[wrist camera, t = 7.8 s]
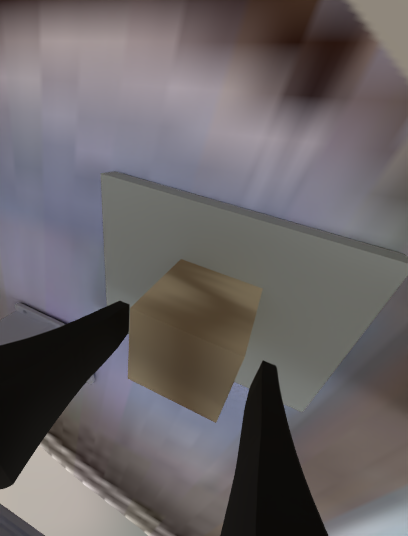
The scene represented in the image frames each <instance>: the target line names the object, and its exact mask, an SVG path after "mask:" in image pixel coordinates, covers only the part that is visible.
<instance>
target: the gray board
mask: <svg viewBox="0 0 408 536" xmlns="http://www.w3.org/2000/svg"><path fill="white" fill-rule="evenodd" d="M101 191H102V213H103V234H104V256H105V278H106V300H107V306H109V305H111V304H113V303H115V302H118V301H122V302H125V303H127V304H130V308H131V307H132V306H133V305H134V304H135V303H136V302H137V301H138V300H139V299H140V298H141V297H142V296H143V295H144V294H145V293H146V292H147V291H148V290H149V289H150V288H151V287H152V286H153V285H154V284H155V283H157V282H158V281H159V280H160V279H161V278H162V277H163V276H164V275H165V274H166V273H167V272H168V271H169V270H170V269H171V268H172V267H173V266H174V265H175V264H176V263H177V262H178V261H179V260H180V259H183V260H185V261H188V262H191V263H194V264H196V265H199V266H202V267H205V268H207V269H210V270H213V271H216V272H218V273H221V274H224V275H227V276H229V277H232V278H235V279H238V280H240V281H243V282H246V283H249V284H251V285H254V286H257V287H260V288H263V290H262V293H261V297H260V301H259V305H258V309H257V312H256V316H255V320H254V324H253V328H252V331H251V335H250V339H249V343H248V347H247V351H246V354H245V358H244V360H243V362H242V365H241V367H240V369H239V371H238V374H237V376H236V378H235V381H234V382H236V383H238V384H240V385H243V386H245V387H247V388H249V389H250V385H251V383H252V381H253V379H254V377H255V375H256V373H257V371H258V369H259V367H260V365H261V363H262V361H263V360H264V361H266V362H268V363H271V364H273V365H276V367H277V371H278V379H279V385H280V391H281V396H282V401H283V404H285V405H287V406H289V407H291V408H294V409H296V410H298V411H300V412H303V411H304V410H305V408H306V407H307V406H308V405H309V403H310V402H311V401H312V399H313V398H314V397H315V395H316V394H317V393H318V392H319V390H320V389H321V388H322V386H323V385H324V384H325V382H326V381H327V380H328V379H329V377H330V376H331V375H332V373H333V372H334V371H335V369H336V368H337V367H338V366H339V364H340V363H341V362H342V360H343V359H344V358H345V356H346V355H347V354H348V353H349V351H350V350H351V349H352V347H353V346H354V345H355V343H356V342H357V341H358V340H359V338H360V337H361V336H362V334H363V333H364V332H365V330H366V329H367V328H368V327H369V325H370V324H371V323H372V321H373V320H374V319H375V317H376V316H377V315H378V314H379V312H380V311H381V310H382V308H383V307H384V306H385V304H386V303H387V302H388V301H389V299H390V298H391V297H392V295H393V294H394V293H395V291H396V290H397V289H398V288H399V286H400V285H401V284H402V282H403V281H404V280H405V278H406V277H407V276H408V257H407V256H406V255H405V254H401V253H398V252H394V251H391V250H387V249H384V248H380V247H377V246H373V245H370V244H366V243H363V242H359V241H356V240H352V239H349V238H345V237H342V236H339V235H335V234H332V233H328V232H325V231H321V230H318V229H314V228H311V227H307V226H304V225H300V224H297V223H293V222H290V221H286V220H283V219H279V218H276V217H272V216H269V215H265V214H262V213H258V212H255V211H251V210H248V209H244V208H241V207H237V206H234V205H230V204H227V203H223V202H220V201H216V200H213V199H209V198H206V197H203V196H199V195H196V194H192V193H189V192H185V191H182V190H178V189H175V188H171V187H168V186H164V185H161V184H157V183H154V182H150V181H147V180H143V179H140V178H136V177H133V176H129V175H126V174H122V173H119V172H115V171H114V172H107V173H101ZM129 327H130V310H129ZM128 334H129V332H128Z"/></svg>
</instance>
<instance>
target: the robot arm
mask: <svg viewBox="0 0 408 536" xmlns="http://www.w3.org/2000/svg"><path fill="white" fill-rule="evenodd" d="M14 307H15V310H16V311H15V312H13V313H11V314H10V315H8V316H6V317H5V318H3V319H1V320H0V489H4V488H7V487H9V486H11V485H12V484H14V482H15V481H16V479H17V477H18V476H19V474H20V473H21V471H22V470H23V468H24V467H25V465H26V464H27V462H28V461H29V459H30V458H31V456H32V455H33V453H34V452H35V450H36V449H37V447H38V446H39V444H40V443H41V441H42V440H43V439H44V437H45V436H46V434H47V433H48V431H49V430H50V429H51V427H52V426H53V424H54V423H55V422H56V420H57V419H58V418H59V416H60V415H61V414H62V412H63V411H64V409H65V408H66V407H67V405H68V404H69V403H70V402H71V400H72V399H73V398H74V396H75V395H76V394H77V392H78V391H79V390H80V389H81V388H82V386H83V385H84V384H85V383H88V384H91V385H92V384H93V383H94V382H95V380H94V373H95V372H96V371H97V370H98V369H99V368H100V367H101V366H102V364H103V363H104V362H105V361H106V360H107V359H108V358H109V357H110V356H111V355H112V353H113V352H114V351H115V350H116V349H117V348H118V347H119V345H120V344H121V342H122V341H123V340H124V338H125V337H126V335H127V334H128V332H129V310H130V304H127V303H125V302H122V301H118V302H115V303H113V304H111V305H109V306H107V307H104V308H102V309H100V310H98V311H96V312H94V313H91V314H89V315H87V316H85V317H82V318H80V319H78V320H75V321H73V322H70V323H68V324H64V323H62V322H60V321H57V320H55V319H53V318H51V317H49V316H47V315H45V314H43V313H40V312H38V311H36V310H34V309H32V308H30V307H28V306H26V305H24V304H21V303H17V304H15V305H14ZM0 536H45V535H43V534H42V533H40V532H39V531H38V530H36V529H35V528H34V527H32V526H31V525H29V524H28V523H27V522H25V521H24V520H22V519H21V518H20V517H18V516H17V515H15V514H14V513H13V512H11V511H10V510H8V509H7V508H5V507H4V506H3V505H1V504H0ZM220 536H328V534H327V531H326V529H325V527H324V524H323V522H322V519H321V517H320V515H319V512H318V510H317V508H316V505H315V503H314V500H313V498H312V495H311V493H310V490H309V487H308V485H307V482H306V479H305V477H304V474H303V471H302V468H301V465H300V462H299V459H298V456H297V453H296V450H295V447H294V443H293V440H292V437H291V433H290V430H289V426H288V422H287V418H286V414H285V410H284V405H283V401H282V396H281V391H280V385H279V379H278V371H277V367H276V365H273V364H271V363H268V362H266V361H264V360H263V361H262V363H261V365H260V367H259V369H258V371H257V373H256V375H255V377H254V379H253V381H252V383H251V385H250V389H249V393H248V397H247V401H246V405H245V410H244V416H243V423H242V430H241V437H240V444H239V451H238V458H237V464H236V470H235V475H234V480H233V484H232V488H231V493H230V497H229V502H228V506H227V510H226V514H225V519H224V523H223V527H222V531H221V535H220Z"/></svg>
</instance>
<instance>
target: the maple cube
mask: <svg viewBox="0 0 408 536" xmlns="http://www.w3.org/2000/svg"><path fill="white" fill-rule="evenodd" d="M262 290H263V288H260V287H257V286H254V285H251V284H249V283H246V282H243V281H240V280H238V279H235V278H232V277H229V276H227V275H224V274H221V273H218V272H216V271H213V270H210V269H207V268H205V267H202V266H199V265H196V264H194V263H191V262H188V261H185V260H183V259H180V260H179V261H178V262H177V263H176V264H175V265H174V266H173V267H172V268H171V269H170V270H169V271H168V272H167V273H166V274H165V275H164V276H163V277H162V278H161V279H160V280H159V281H158V282H157V283H155V284H154V285H153V286H152V287H151V288H150V289H149V290H148V291H147V292H146V293H145V294H144V295H143V296H142V297H141V298H140V299H139V300H138V301H137V302H136V303H135V304H134V305H133V306H132V307H131V308H130V327H129V357H128V379H130V380H132V381H134V382H136V383H138V384H140V385H142V386H144V387H146V388H148V389H150V390H152V391H154V392H156V393H158V394H160V395H162V396H164V397H166V398H168V399H170V400H172V401H174V402H176V403H178V404H180V405H182V406H184V407H186V408H188V409H190V410H192V411H194V412H195V413H197V414H199V415H201V416H203V417H205V418H207V419H209V420H211V421H213V422H215V423H216V422H217V419H218V417H219V415H220V412H221V410H222V408H223V406H224V403H225V401H226V399H227V397H228V394H229V392H230V390H231V387H232V385H233V383H234V381H235V378H236V376H237V374H238V371H239V369H240V367H241V365H242V362H243V360H244V358H245V354H246V351H247V347H248V343H249V339H250V335H251V331H252V328H253V324H254V320H255V316H256V312H257V309H258V305H259V301H260V297H261V293H262Z"/></svg>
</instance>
